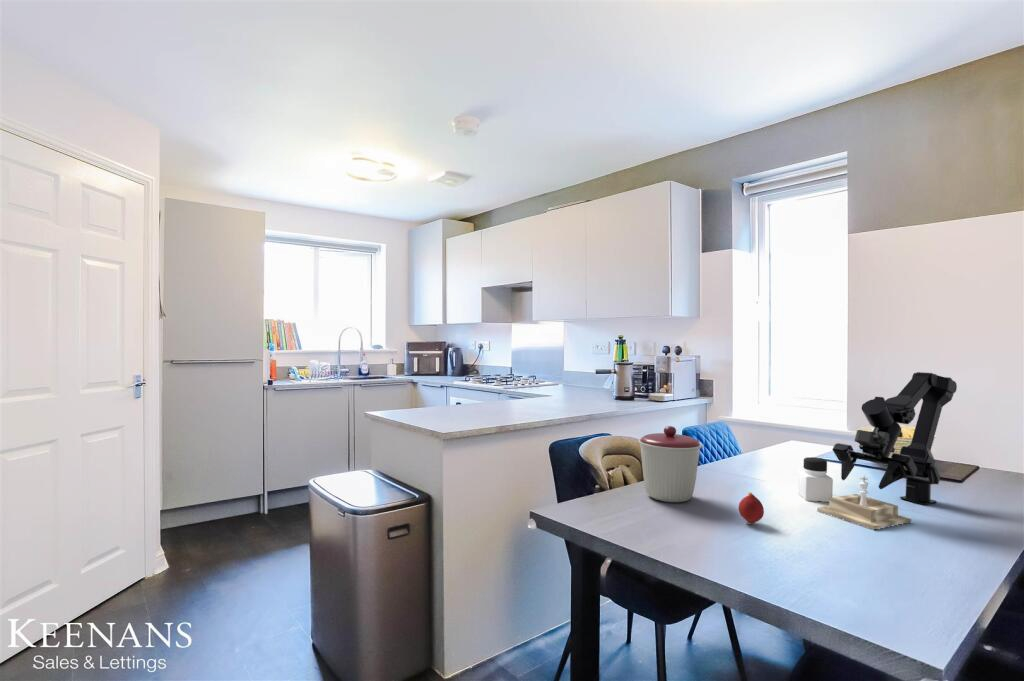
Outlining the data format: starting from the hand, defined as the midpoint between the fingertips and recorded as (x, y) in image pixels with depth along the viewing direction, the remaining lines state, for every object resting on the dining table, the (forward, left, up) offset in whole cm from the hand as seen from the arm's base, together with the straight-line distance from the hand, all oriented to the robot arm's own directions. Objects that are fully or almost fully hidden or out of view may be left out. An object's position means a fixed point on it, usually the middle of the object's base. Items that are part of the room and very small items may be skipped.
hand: (860, 483), depth 137 cm
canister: (+37, -32, -9) cm, 50 cm away
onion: (+32, -7, -9) cm, 34 cm away
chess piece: (-2, 0, -8) cm, 8 cm away
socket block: (-1, 0, -9) cm, 9 cm away
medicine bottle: (-4, -16, -9) cm, 19 cm away
